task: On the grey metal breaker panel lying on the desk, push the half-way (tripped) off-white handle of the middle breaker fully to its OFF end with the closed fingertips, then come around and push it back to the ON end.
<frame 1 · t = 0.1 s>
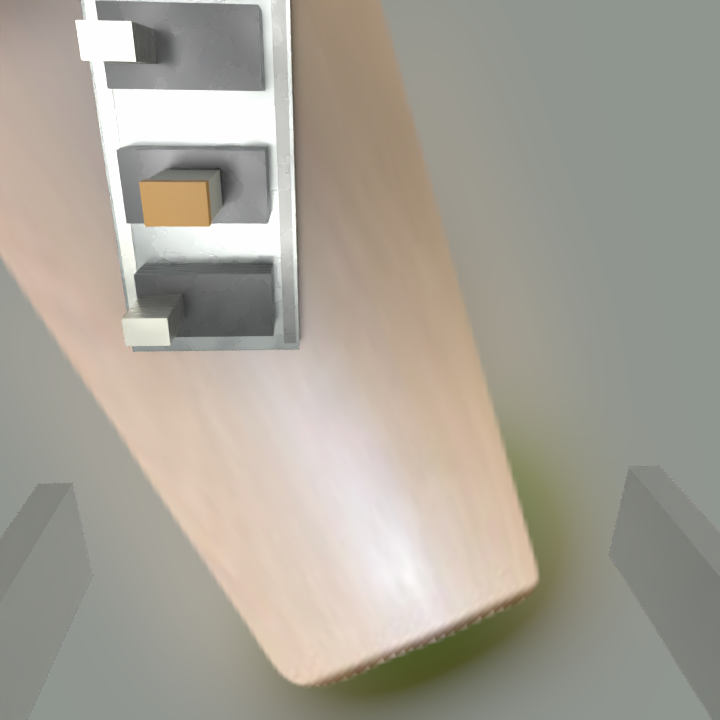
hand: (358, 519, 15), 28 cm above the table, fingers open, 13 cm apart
tripped handle: (185, 195, 32), point 7 cm above the table, slide at 0.0 cm
panel: (206, 177, 38), on the table
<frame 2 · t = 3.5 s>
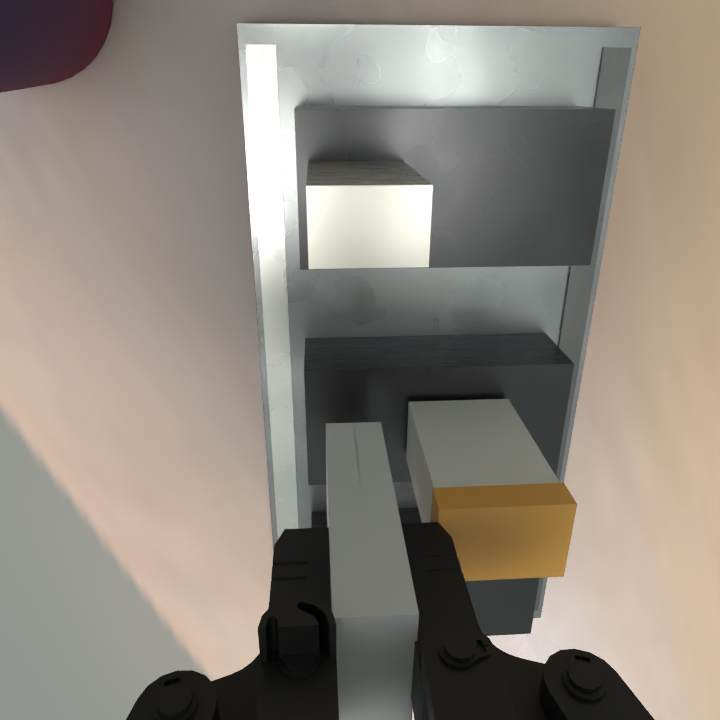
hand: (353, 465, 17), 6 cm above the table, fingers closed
tripped handle: (476, 478, 16), point 7 cm above the table, slide at 0.6 cm, touching gripper
panel: (417, 370, 22), on the table
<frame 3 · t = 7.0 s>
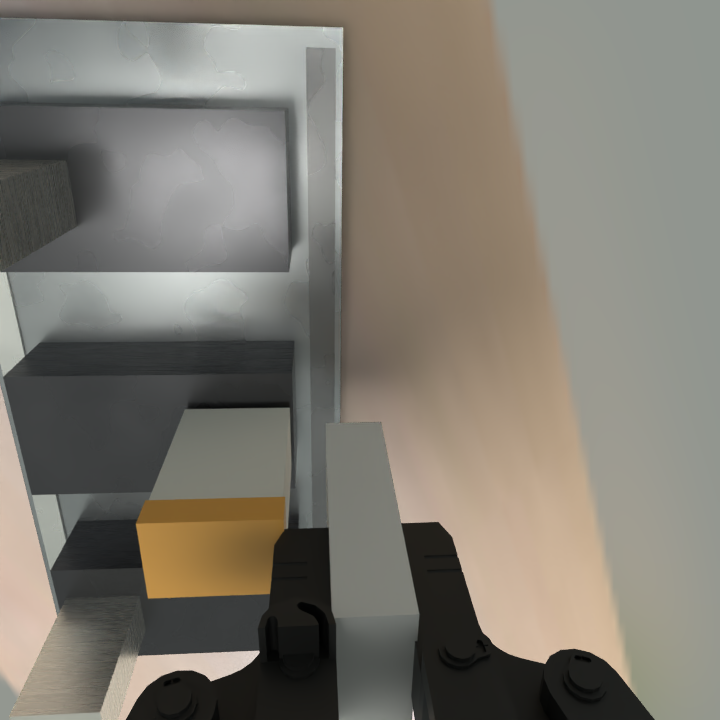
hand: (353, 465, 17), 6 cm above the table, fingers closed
tripped handle: (228, 490, 16), point 7 cm above the table, slide at 2.4 cm, touching gripper
panel: (184, 377, 22), on the table
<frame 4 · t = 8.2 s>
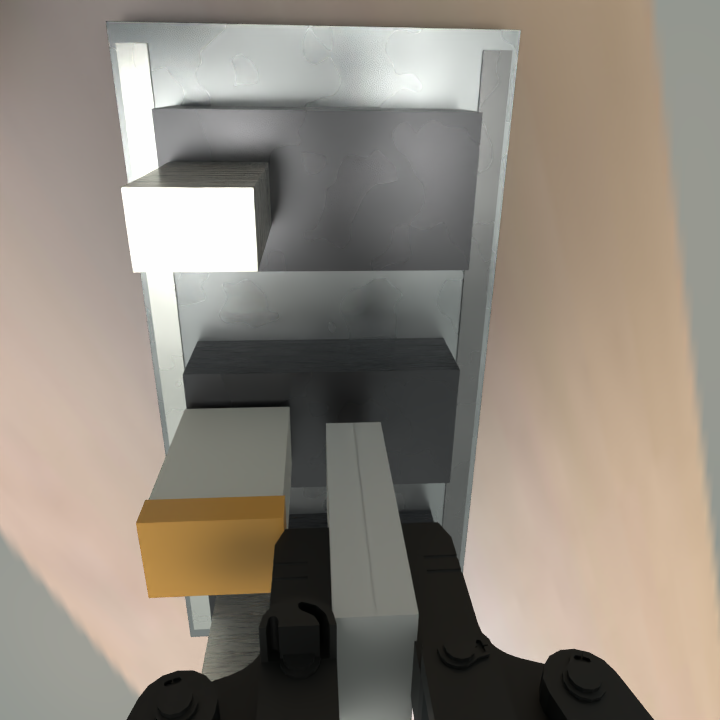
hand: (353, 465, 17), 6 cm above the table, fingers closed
tripped handle: (229, 489, 16), point 7 cm above the table, slide at -2.5 cm, touching gripper
panel: (322, 374, 22), on the table
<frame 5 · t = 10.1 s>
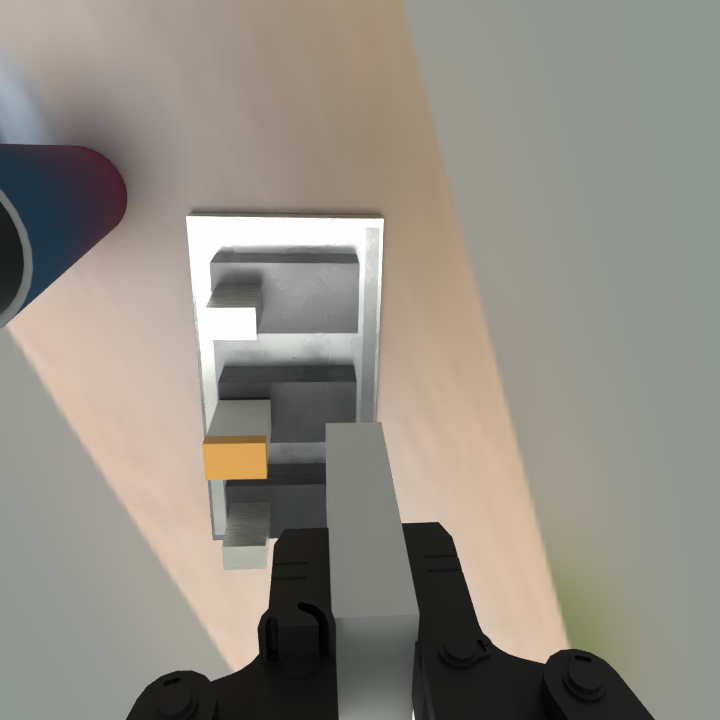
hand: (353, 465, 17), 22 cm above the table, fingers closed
tripped handle: (240, 436, 33), point 7 cm above the table, slide at -2.5 cm
cup: (82, 192, 35), on the table
panel: (290, 385, 40), on the table
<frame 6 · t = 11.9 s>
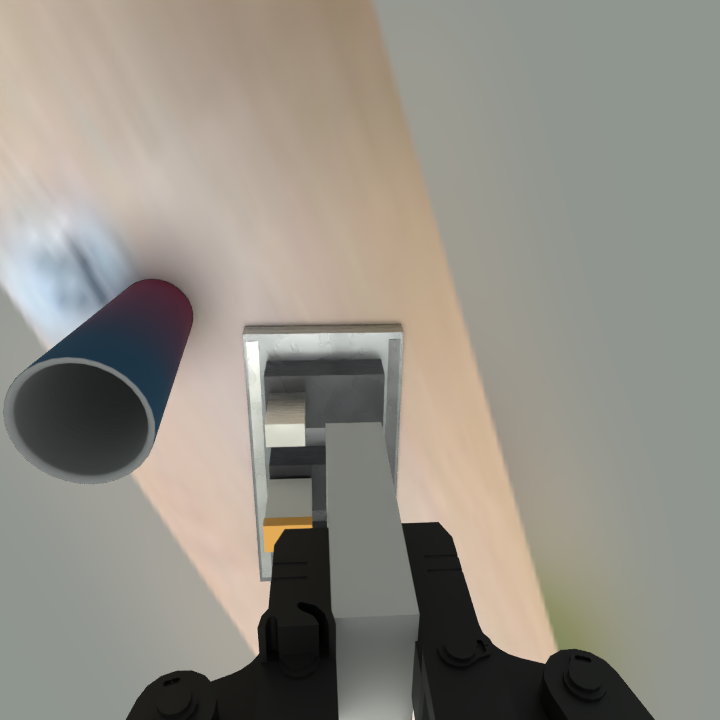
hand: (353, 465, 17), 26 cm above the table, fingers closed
tripped handle: (289, 513, 41), point 7 cm above the table, slide at -2.5 cm
cup: (156, 313, 42), on the table
panel: (325, 457, 48), on the table
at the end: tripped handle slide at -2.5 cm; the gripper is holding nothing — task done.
